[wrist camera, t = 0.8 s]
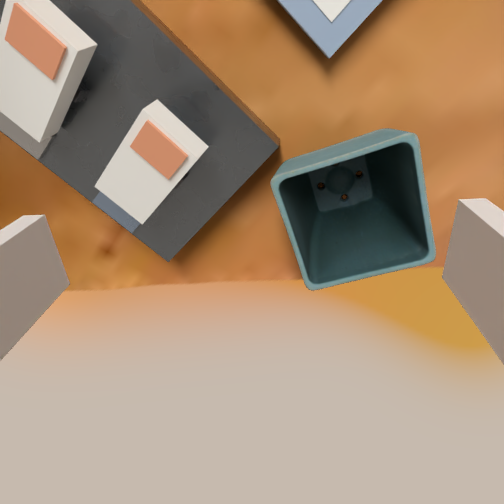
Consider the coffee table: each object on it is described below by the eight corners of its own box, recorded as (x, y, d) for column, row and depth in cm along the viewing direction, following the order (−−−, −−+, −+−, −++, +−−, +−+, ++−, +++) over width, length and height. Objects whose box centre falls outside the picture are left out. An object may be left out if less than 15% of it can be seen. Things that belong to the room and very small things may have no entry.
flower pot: (302, 238, 34) (307, 294, 26) (272, 146, 30) (267, 178, 22) (400, 211, 32) (438, 262, 24) (381, 109, 28) (418, 129, 20)
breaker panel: (-15, 93, 30) (-57, 98, 26) (66, -73, 25) (27, -96, 21) (177, 246, 35) (164, 269, 32) (279, 138, 30) (278, 150, 26)
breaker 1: (4, 88, 26) (-21, 98, 25) (34, -14, 22) (5, -11, 20) (57, 132, 28) (37, 144, 26) (97, 44, 23) (75, 51, 21)
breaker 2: (109, 174, 29) (92, 187, 27) (157, 99, 24) (140, 110, 22) (154, 210, 30) (140, 226, 28) (208, 146, 25) (196, 160, 23)
